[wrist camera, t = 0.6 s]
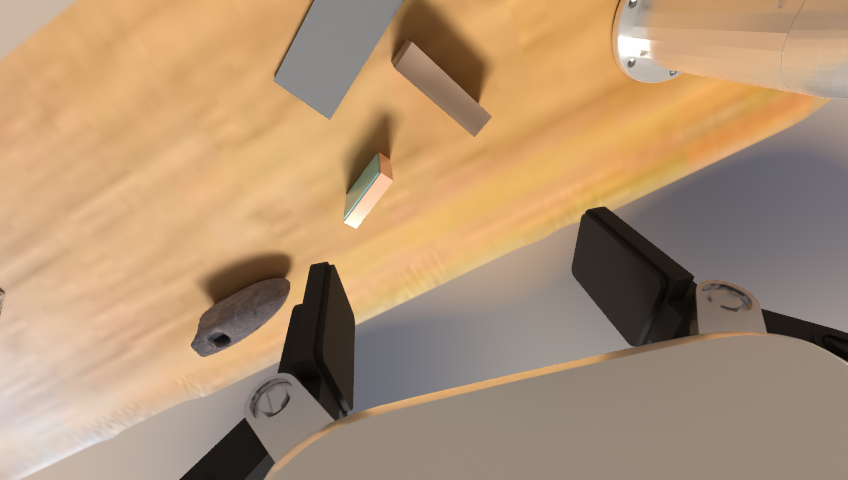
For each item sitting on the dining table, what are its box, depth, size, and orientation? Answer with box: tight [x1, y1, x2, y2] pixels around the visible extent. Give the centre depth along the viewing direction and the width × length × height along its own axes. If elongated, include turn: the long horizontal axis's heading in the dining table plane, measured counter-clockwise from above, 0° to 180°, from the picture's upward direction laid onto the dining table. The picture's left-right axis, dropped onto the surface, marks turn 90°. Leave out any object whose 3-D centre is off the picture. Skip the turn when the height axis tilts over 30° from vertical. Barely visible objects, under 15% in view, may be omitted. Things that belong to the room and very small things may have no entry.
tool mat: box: [273, 0, 404, 120], centre depth 30 cm, size 13×6×1 cm, turn 141°
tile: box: [344, 152, 393, 228], centre depth 36 cm, size 7×2×6 cm, turn 141°
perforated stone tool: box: [191, 278, 290, 357], centre depth 43 cm, size 15×5×7 cm, turn 117°
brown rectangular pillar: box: [391, 39, 492, 137], centre depth 32 cm, size 2×10×5 cm, turn 51°
